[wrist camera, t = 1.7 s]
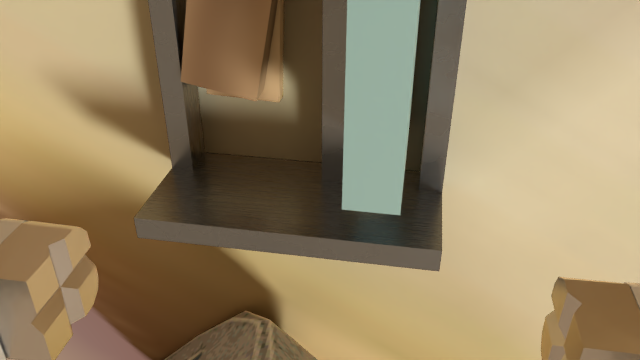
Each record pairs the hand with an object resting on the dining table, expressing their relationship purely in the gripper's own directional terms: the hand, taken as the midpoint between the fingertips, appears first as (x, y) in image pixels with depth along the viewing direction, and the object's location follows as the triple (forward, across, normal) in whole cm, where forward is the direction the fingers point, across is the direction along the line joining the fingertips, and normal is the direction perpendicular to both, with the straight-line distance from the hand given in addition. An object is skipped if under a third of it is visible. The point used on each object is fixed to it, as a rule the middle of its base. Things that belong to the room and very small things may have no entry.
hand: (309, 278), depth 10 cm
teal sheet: (+22, 0, 0) cm, 22 cm away
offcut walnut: (+21, +7, 0) cm, 22 cm away
